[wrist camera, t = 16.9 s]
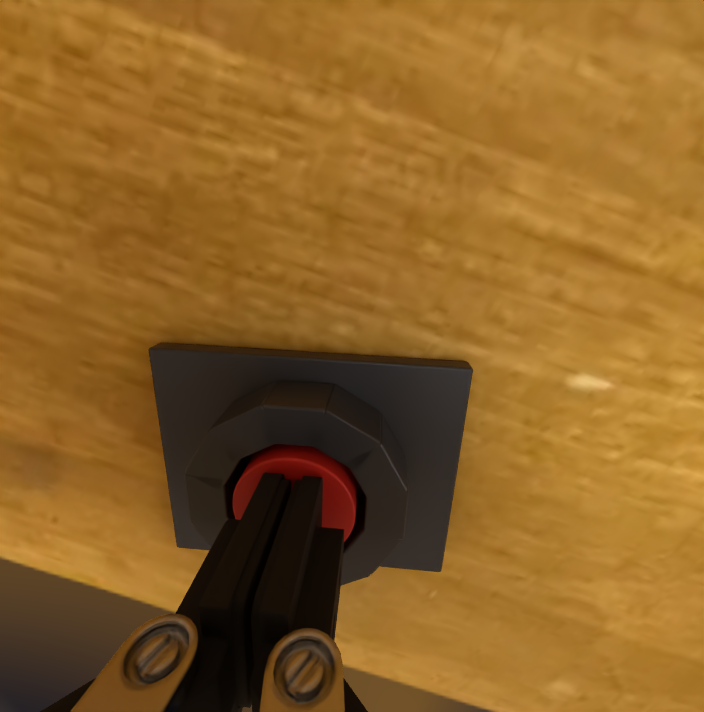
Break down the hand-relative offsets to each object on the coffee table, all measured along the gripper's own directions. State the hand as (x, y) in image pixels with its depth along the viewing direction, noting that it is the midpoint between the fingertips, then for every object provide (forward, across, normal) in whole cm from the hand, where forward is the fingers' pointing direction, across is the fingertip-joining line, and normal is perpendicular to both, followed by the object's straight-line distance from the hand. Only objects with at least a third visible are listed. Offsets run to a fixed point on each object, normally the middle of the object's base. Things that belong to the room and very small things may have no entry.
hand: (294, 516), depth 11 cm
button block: (+3, 0, 0) cm, 3 cm away
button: (+2, 0, 0) cm, 2 cm away
